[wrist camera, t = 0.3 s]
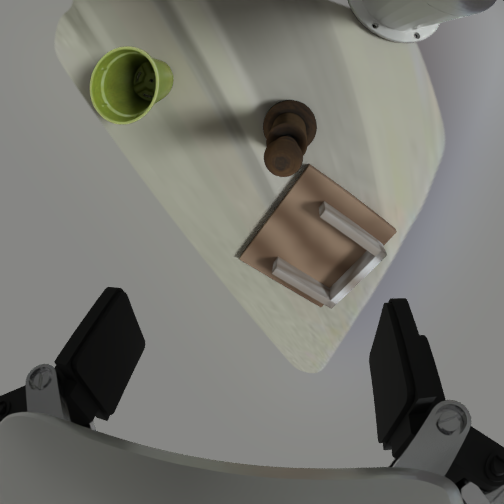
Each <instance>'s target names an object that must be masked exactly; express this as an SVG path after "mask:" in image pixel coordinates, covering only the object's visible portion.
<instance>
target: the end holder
mask: <svg viewBox="0 0 504 504" xmlns="http://www.w3.org/2000/svg"><path fill="white" fill-rule="evenodd" d="M396 232H397V231H396V229H395V228H394V227H393V226H391V225H390V224H389V223H388V222H386V221H385V220H384V219H383V218H381V217H380V216H379V215H378V214H376V213H375V212H374V211H373V210H371V209H370V208H369V207H367V206H366V205H365V204H364V203H362V202H361V201H360V200H358V199H357V198H356V197H354V196H353V195H352V194H350V193H349V192H348V191H346V190H345V189H344V188H342V187H341V186H340V185H338V184H337V183H335V182H334V181H333V180H331V179H330V178H328V177H327V176H326V175H324V174H323V173H321V172H320V171H319V170H317V169H316V168H314V167H313V166H311V165H310V164H309V165H308V166H307V167H306V169H305V170H304V171H303V173H302V174H301V175H300V177H299V178H298V179H297V181H296V182H295V183H294V185H293V186H292V187H291V189H290V190H289V191H288V193H287V194H286V195H285V197H284V198H283V199H282V201H281V202H280V203H279V205H278V206H277V207H276V209H275V210H274V211H273V213H272V214H271V215H270V217H269V218H268V219H267V221H266V222H265V223H264V225H263V226H262V227H261V229H260V230H259V231H258V233H257V234H256V235H255V237H254V238H253V239H252V241H251V242H250V244H249V245H248V246H247V248H246V249H245V250H244V252H243V253H242V254H241V256H240V260H241V261H243V262H245V263H247V264H248V265H250V266H252V267H253V268H255V269H257V270H258V271H260V272H262V273H263V274H265V275H267V276H269V277H270V278H272V279H274V280H275V281H277V282H279V283H280V284H282V285H284V286H285V287H287V288H289V289H291V290H292V291H294V292H296V293H297V294H299V295H301V296H303V297H304V298H306V299H308V300H309V301H311V302H313V303H315V304H316V305H318V306H320V307H322V306H323V305H326V306H327V307H329V308H333V307H334V306H335V305H336V304H337V303H338V302H339V301H340V300H341V299H342V298H343V297H344V296H346V295H347V294H348V293H349V292H350V291H351V290H352V289H353V288H354V287H355V286H356V285H357V284H358V283H359V282H360V281H361V280H362V279H363V278H364V277H365V276H366V275H367V274H369V273H370V272H371V271H372V270H373V269H374V268H375V267H376V266H377V265H378V264H379V263H380V262H381V261H382V260H383V259H384V258H385V257H386V256H387V254H386V251H385V249H384V245H385V244H386V243H387V242H388V240H389V239H390V238H391V237H392V236H393V235H394V234H395V233H396Z"/></svg>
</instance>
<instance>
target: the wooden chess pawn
mask: <svg viewBox="0 0 504 504" xmlns="http://www.w3.org/2000/svg"><path fill="white" fill-rule="evenodd" d="M316 129H317V125H316V120H315V116H314V114H313V112H312V111H311V110H310V108H309V107H307V106H306V105H305V104H303V103H301V102H298V101H294V100H286V101H282V102H279V103H277V104H275V105H274V106H273V107H272V108H271V109H270V110H269V111H268V113H267V114H266V116H265V119H264V123H263V130H264V135H265V137H266V139H267V140H266V144H267V148H266V150H265V153H264V162H265V165H266V167H267V169H268V170H269V171H270V172H271V173H272V174H274V175H276V176H280V177H287V176H291V175H293V174H294V173H296V172H297V171H298V170H299V169H300V167H301V165H302V162H303V155H304V154H305V152H306V150H307V146H308V145H309V144H310V143H311V142H312V141H313V139H314V137H315V134H316Z"/></svg>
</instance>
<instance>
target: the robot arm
mask: <svg viewBox="0 0 504 504" xmlns="http://www.w3.org/2000/svg"><path fill="white" fill-rule="evenodd" d="M503 1H504V0H503ZM495 2H496V0H348V3H349V5H350V7H351V9H352V11H353V13H354V14H355V16H356V17H357V19H358V20H359V21H360V22H361V23H362V24H363V25H364V26H365V27H366V28H368V29H369V30H370V31H371V32H373V33H375V34H376V35H378V36H380V37H382V38H384V39H387V40H389V41H393V42H398V43H414V42H419V41H422V40H424V39H426V38H428V37H429V36H431V35H432V34H433V33H434V32H435V31H436V29H437V28H438V26H439V24H440V23H441V22H445V21H449V20H453V19H456V18H461V17H465V16H470V15H473V14H478V13H481V12H483V11H485V10H487V9H489V8H490V7H491V6H493V4H494V3H495ZM372 25H375V28H373V27H372ZM414 35H416V38H415V37H414ZM144 348H145V340H144V337H143V335H142V333H141V330H140V327H139V325H138V322H137V320H136V317H135V315H134V312H133V309H132V307H131V304H130V301H129V299H128V296H127V294H126V293H125V292H124V291H123V290H122V289H121V288H114V287H107V288H106V289H105V290H104V292H103V293H102V294H101V296H100V297H99V298H98V300H97V301H96V302H95V304H94V305H93V306H92V308H91V309H90V311H89V312H88V314H87V315H86V316H85V318H84V319H83V321H82V322H81V323H80V325H79V326H78V327H77V329H76V330H75V332H74V333H73V335H72V336H71V338H70V339H69V341H68V342H67V343H66V345H65V347H64V348H63V349H62V351H61V352H60V354H59V355H58V357H57V359H56V360H55V364H56V366H55V368H54V367H53V366H51V365H49V364H42V365H38V366H36V367H35V368H34V369H33V370H31V371H30V373H29V374H28V376H27V378H26V385H25V386H23V387H21V388H18V389H16V390H14V391H11V392H9V393H7V394H4V395H2V396H0V504H504V447H502V446H501V445H499V444H498V443H496V442H495V441H493V440H491V439H490V438H488V437H487V436H485V435H484V434H482V433H481V432H479V431H478V430H476V429H474V428H473V427H471V416H470V413H469V411H468V410H467V408H466V407H465V406H464V405H463V404H461V403H460V402H457V401H454V400H445V396H444V393H443V389H442V385H441V382H440V378H439V375H438V372H437V368H436V365H435V361H434V358H433V355H432V352H431V349H430V345H429V342H428V340H427V338H426V337H425V336H424V335H419V334H418V330H417V327H416V324H415V321H414V318H413V315H412V312H411V310H410V307H409V304H408V301H407V299H405V298H398V299H390V300H389V302H388V303H384V305H383V309H382V313H381V317H380V321H379V325H378V328H377V331H376V335H375V339H374V342H373V345H372V349H371V352H370V358H369V363H370V371H371V378H372V386H373V395H374V403H375V413H376V423H377V434H378V441H379V443H383V448H384V450H391V449H392V456H393V457H394V460H393V461H392V462H391V464H390V465H389V466H388V467H380V468H379V467H377V468H343V469H315V468H284V467H269V466H257V465H247V464H238V463H230V462H224V461H216V460H210V459H204V458H199V457H193V456H188V455H183V454H178V453H173V452H169V451H165V450H160V449H156V448H152V447H148V446H144V445H141V444H137V443H133V442H130V441H126V440H123V439H120V438H116V437H113V436H110V435H107V434H104V433H101V432H98V431H96V429H95V426H94V422H93V419H94V417H95V416H96V417H97V418H100V419H103V420H106V421H107V420H108V418H109V416H110V415H112V414H113V413H114V412H115V409H116V407H117V405H118V403H119V401H120V399H121V396H122V394H123V392H124V390H125V388H126V386H127V384H128V381H129V379H130V377H131V375H132V373H133V371H134V369H135V367H136V365H137V363H138V361H139V359H140V357H141V355H142V353H143V350H144Z"/></svg>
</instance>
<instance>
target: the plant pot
mask: <svg viewBox="0 0 504 504" xmlns="http://www.w3.org/2000/svg"><path fill="white" fill-rule="evenodd" d="M139 72H141V74H140V76H139V79H138V81H137V76H138V73H139ZM151 79H153V82H150V80H151ZM172 85H173V74H172V72H171V69H170V67H169V66H168V65H167V64H166V63H165V62H163V61H160V60H157V59H154V58H151V56H150V55H149V54H148V53H146V52H145V51H143V50H141V49H139V48H136V47H130V46H125V47H119V48H116V49H113V50H111V51H110V52H108V53H107V54H105V55H104V56H103V57H102V58H101V59H100V60H99V62H98V63H97V64H96V66H95V68H94V70H93V72H92V75H91V80H90V97H91V100H92V103H93V106H94V108H95V109H96V111H97V112H98V113H99V114H100V115H101V116H102V117H103V118H104V119H105V120H107V121H109V122H112V123H115V124H130V123H133V122H136V121H138V120H139V119H141V118H142V117H144V116H145V115H146V114H147V113H148V112H149V111H150V110H151V108H152V107H153V105H154V104H155V103H156V102H158V101H160V100H161V99H163V98H164V97H165V96H166V95H167V94H168V93H169V92H170V90H171V88H172ZM144 93H145V94H147V95H150V96H152V97H151V98H149V97H145V96H144V95H143V94H144Z"/></svg>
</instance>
